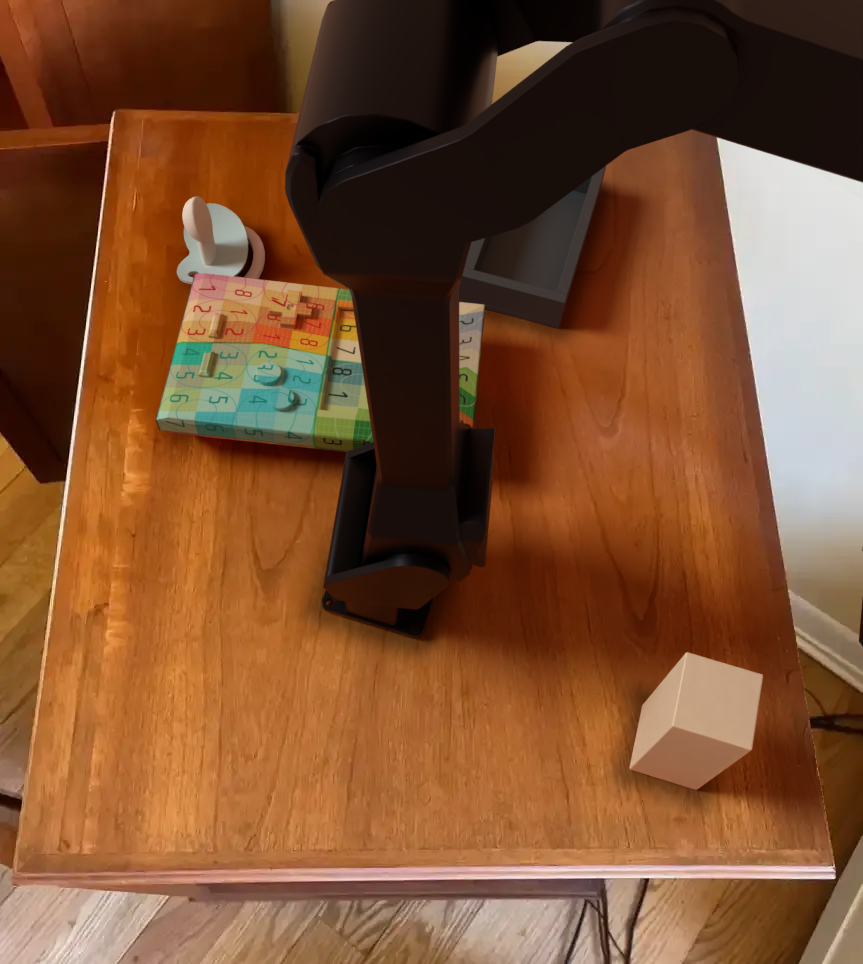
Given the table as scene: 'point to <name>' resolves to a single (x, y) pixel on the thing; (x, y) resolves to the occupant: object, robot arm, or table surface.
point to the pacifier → (217, 242)
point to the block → (697, 721)
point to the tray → (533, 260)
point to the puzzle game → (282, 365)
